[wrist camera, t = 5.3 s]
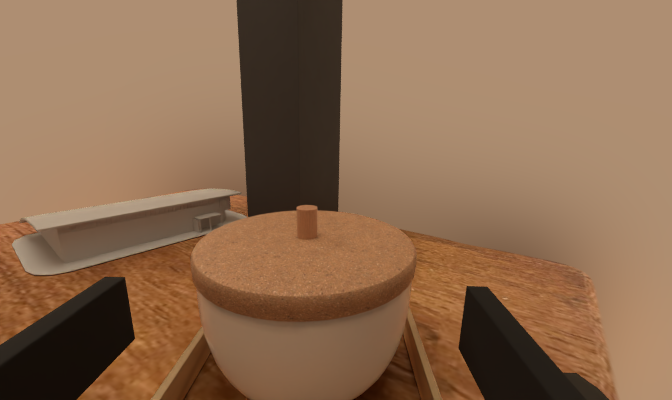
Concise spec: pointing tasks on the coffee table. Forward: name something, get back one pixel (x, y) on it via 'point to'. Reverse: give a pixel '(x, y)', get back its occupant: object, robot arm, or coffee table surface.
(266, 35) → the pedestal
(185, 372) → the empty wooden frame
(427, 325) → the coffee table surface
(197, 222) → the beige covered tray
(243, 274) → the trinket box
